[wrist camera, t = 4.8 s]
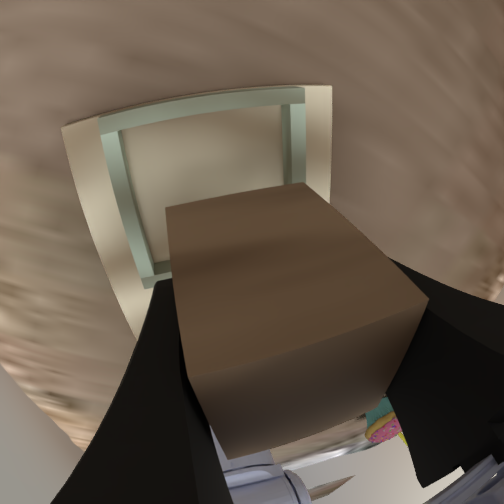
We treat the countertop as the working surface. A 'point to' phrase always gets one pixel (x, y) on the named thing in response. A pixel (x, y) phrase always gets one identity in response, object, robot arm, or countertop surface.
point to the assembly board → (188, 168)
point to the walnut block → (284, 314)
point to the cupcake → (383, 423)
